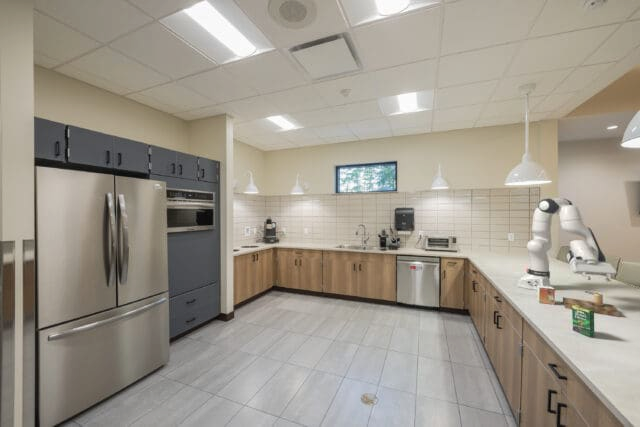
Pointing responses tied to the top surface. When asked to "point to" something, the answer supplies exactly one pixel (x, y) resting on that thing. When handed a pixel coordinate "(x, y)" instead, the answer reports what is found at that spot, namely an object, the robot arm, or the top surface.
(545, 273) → the robot arm
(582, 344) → the top surface
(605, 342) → the top surface
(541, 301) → the small box
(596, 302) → the oak peg
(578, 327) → the coffee box
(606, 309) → the walnut board
